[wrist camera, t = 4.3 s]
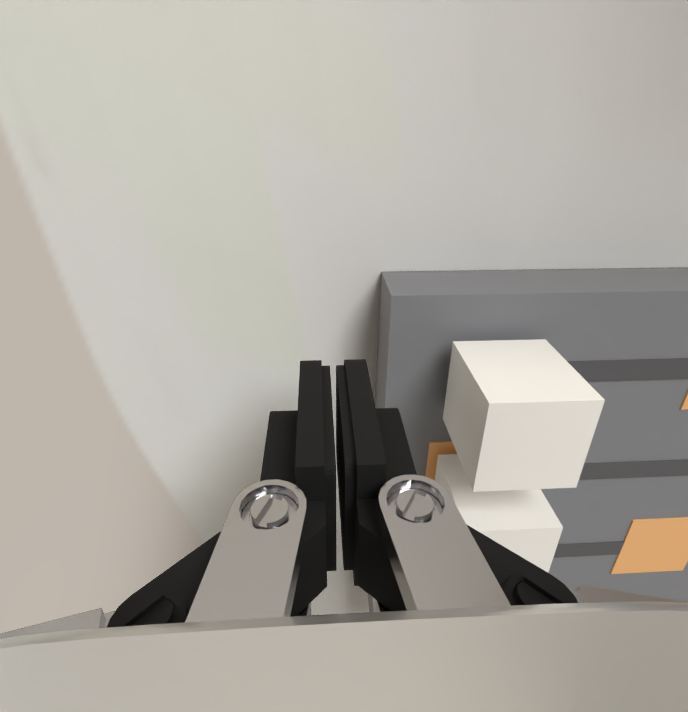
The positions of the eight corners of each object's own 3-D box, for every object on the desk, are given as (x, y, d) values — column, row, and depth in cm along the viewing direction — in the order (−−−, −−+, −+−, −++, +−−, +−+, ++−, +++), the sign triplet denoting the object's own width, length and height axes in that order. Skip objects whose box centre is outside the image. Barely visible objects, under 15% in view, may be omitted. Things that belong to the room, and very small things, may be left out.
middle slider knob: (518, 451, 15) (563, 527, 12) (504, 510, 16) (542, 590, 13) (438, 454, 15) (465, 531, 12) (430, 513, 16) (453, 595, 13)
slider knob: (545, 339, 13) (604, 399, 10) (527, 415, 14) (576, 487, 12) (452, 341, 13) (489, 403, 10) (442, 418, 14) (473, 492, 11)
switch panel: (814, 265, 15) (883, 288, 13) (660, 572, 22) (691, 613, 20) (381, 271, 14) (391, 296, 12) (367, 587, 21) (372, 632, 20)
